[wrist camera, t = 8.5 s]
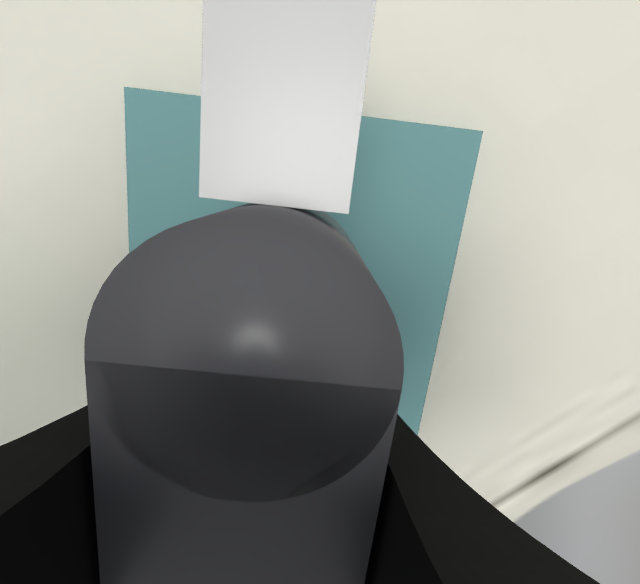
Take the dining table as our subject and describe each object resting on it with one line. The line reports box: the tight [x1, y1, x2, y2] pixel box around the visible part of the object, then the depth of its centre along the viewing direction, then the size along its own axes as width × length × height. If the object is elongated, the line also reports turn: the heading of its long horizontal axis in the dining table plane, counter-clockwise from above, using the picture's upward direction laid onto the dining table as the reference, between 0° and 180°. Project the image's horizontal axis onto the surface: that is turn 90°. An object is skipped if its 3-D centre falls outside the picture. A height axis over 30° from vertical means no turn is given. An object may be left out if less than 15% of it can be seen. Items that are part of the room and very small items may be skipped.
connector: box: [85, 0, 404, 584], centre depth 8 cm, size 13×4×5 cm, turn 174°
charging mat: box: [124, 87, 483, 435], centre depth 16 cm, size 16×13×1 cm
